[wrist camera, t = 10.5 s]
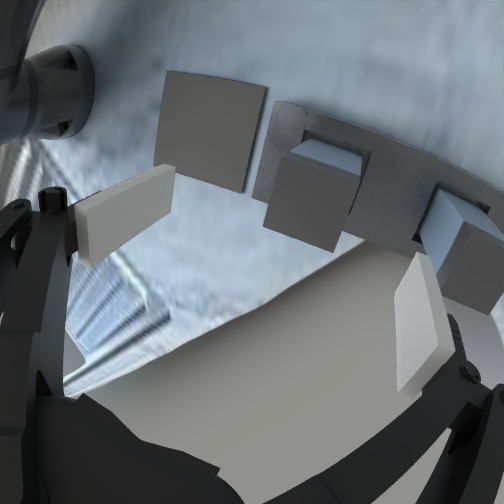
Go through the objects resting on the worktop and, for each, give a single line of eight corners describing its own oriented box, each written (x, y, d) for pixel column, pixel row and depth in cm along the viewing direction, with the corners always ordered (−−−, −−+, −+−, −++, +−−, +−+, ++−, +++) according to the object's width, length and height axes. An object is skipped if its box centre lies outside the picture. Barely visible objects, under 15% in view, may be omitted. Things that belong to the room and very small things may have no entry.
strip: (260, 190, 34) (249, 199, 31) (282, 101, 29) (272, 101, 26) (506, 290, 28) (515, 307, 25) (544, 218, 23) (558, 230, 20)
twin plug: (417, 228, 29) (437, 293, 19) (436, 184, 26) (471, 231, 16) (456, 246, 28) (488, 315, 18) (476, 204, 25) (522, 259, 15)
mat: (155, 165, 37) (153, 165, 37) (169, 71, 31) (167, 70, 31) (242, 192, 35) (241, 193, 35) (266, 87, 29) (265, 87, 28)
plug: (299, 183, 31) (262, 226, 21) (312, 136, 29) (281, 155, 19) (346, 200, 30) (333, 253, 20) (362, 153, 28) (359, 183, 18)
